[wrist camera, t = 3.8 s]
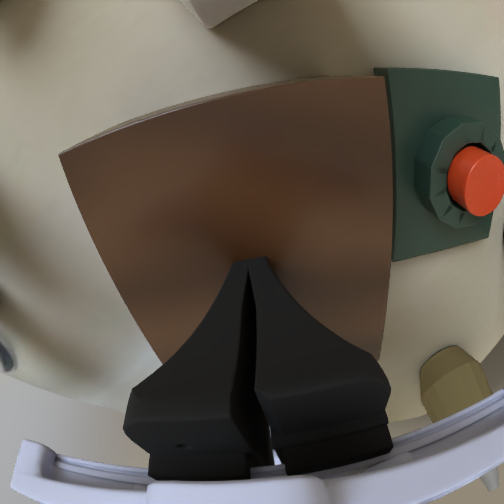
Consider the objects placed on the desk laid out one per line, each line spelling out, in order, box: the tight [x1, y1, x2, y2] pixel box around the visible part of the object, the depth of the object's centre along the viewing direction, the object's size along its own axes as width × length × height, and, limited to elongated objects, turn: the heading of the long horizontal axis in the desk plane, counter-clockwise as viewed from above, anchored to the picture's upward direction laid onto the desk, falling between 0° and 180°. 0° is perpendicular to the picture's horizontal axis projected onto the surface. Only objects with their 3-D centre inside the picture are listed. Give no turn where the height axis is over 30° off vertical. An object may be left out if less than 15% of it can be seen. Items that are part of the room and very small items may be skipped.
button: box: [447, 146, 504, 216], centre depth 13 cm, size 4×4×2 cm
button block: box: [374, 68, 504, 262], centre depth 15 cm, size 12×9×4 cm
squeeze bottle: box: [420, 346, 499, 492], centre depth 21 cm, size 8×8×18 cm
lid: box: [59, 76, 393, 364], centre depth 12 cm, size 14×11×1 cm
